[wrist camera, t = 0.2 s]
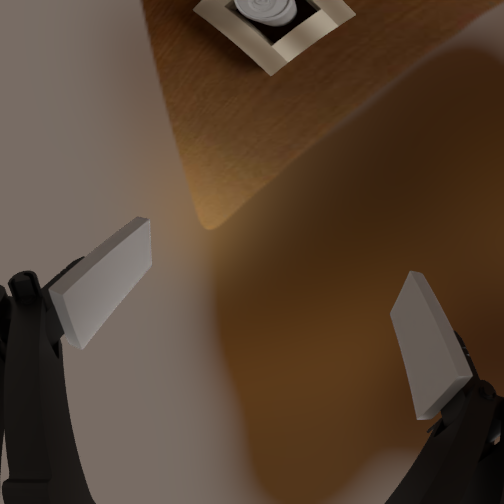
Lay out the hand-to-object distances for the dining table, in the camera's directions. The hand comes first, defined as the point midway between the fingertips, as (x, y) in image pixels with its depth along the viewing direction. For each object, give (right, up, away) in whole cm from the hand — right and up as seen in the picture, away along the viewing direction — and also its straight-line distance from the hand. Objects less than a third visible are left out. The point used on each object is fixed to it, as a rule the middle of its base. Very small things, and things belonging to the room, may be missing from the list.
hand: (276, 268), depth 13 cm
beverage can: (+2, +29, +10) cm, 31 cm away
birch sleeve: (+2, +29, +10) cm, 31 cm away
